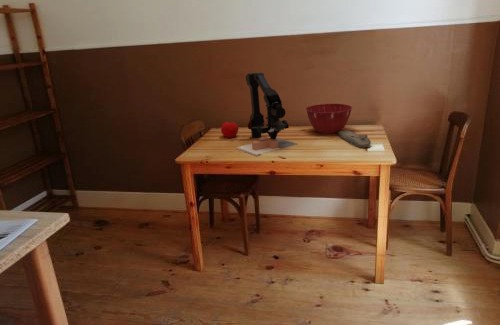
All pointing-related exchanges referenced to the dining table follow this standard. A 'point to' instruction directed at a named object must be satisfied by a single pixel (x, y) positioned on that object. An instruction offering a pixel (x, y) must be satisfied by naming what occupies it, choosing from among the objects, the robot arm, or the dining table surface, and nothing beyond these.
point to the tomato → (229, 129)
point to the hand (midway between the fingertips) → (273, 142)
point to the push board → (249, 149)
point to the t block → (264, 143)
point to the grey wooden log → (355, 138)
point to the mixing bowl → (328, 117)
